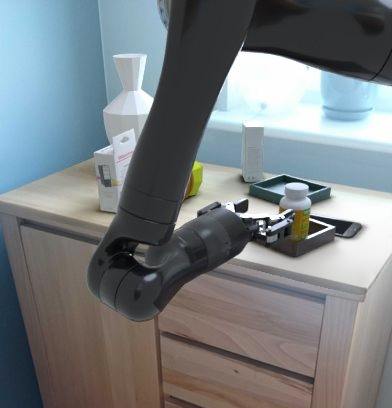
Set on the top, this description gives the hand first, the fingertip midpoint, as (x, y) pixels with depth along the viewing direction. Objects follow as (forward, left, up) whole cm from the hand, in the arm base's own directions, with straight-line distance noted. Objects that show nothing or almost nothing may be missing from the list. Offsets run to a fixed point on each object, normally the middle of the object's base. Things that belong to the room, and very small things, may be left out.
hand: (268, 209), depth 90 cm
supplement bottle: (+2, -9, -8) cm, 12 cm away
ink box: (+38, +3, -8) cm, 39 cm away
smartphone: (+3, -18, -9) cm, 20 cm away
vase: (+56, -15, -8) cm, 58 cm away
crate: (+2, -9, -8) cm, 12 cm away
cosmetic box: (+32, -30, -8) cm, 44 cm away
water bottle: (+33, -8, -8) cm, 34 cm away
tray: (+18, -27, -8) cm, 33 cm away
